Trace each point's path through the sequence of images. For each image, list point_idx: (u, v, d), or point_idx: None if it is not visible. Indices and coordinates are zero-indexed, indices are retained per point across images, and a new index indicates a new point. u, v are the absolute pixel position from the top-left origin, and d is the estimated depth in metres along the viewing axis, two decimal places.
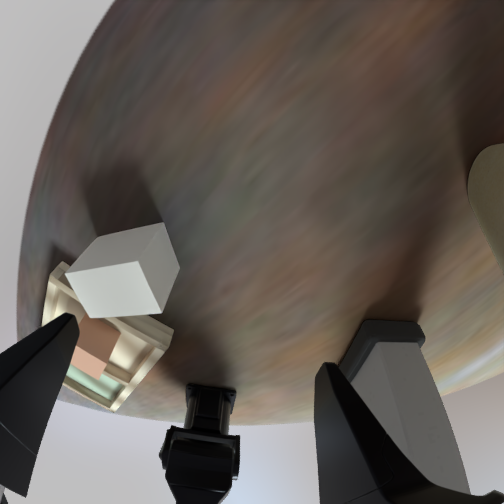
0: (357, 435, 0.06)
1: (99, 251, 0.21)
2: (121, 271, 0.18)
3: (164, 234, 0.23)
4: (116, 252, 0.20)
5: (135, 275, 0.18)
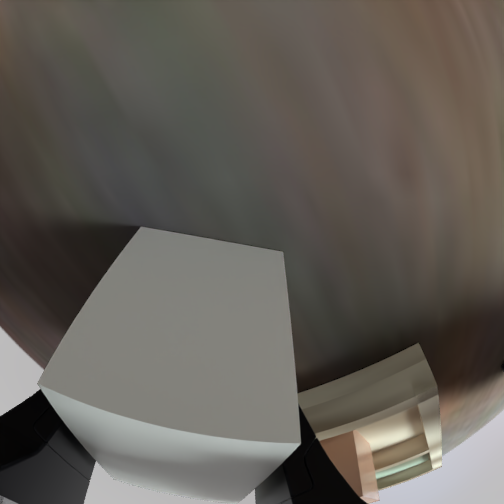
0: None
1: None
2: (87, 432, 0.04)
3: (157, 242, 0.08)
4: None
5: (93, 419, 0.04)
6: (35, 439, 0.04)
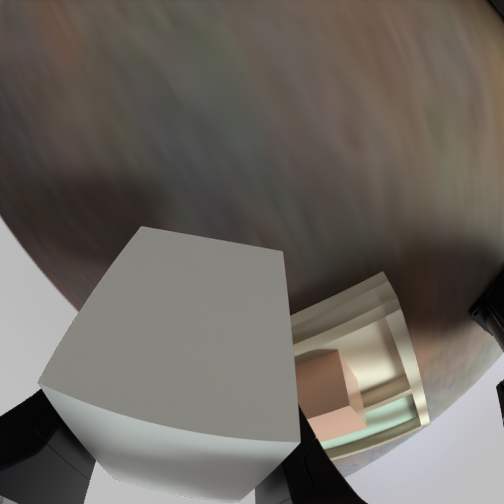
0: None
1: None
2: (87, 431, 0.04)
3: (157, 241, 0.08)
4: None
5: (94, 419, 0.04)
6: (35, 439, 0.04)
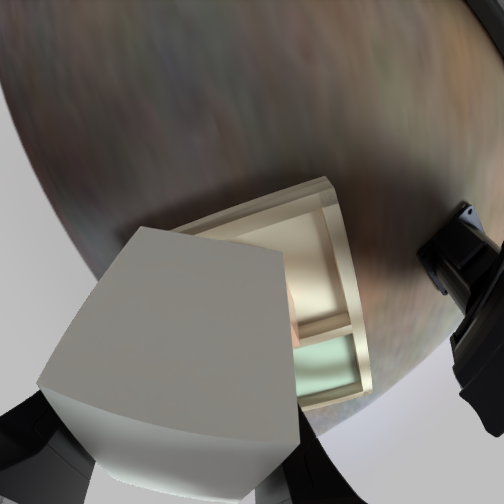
0: None
1: None
2: (86, 431, 0.04)
3: (157, 242, 0.08)
4: None
5: (93, 419, 0.04)
6: (36, 439, 0.04)
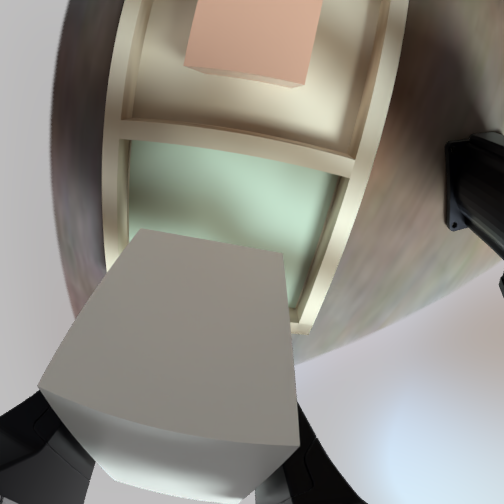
0: None
1: None
2: (87, 433, 0.04)
3: (157, 244, 0.08)
4: None
5: (94, 421, 0.04)
6: (35, 439, 0.04)
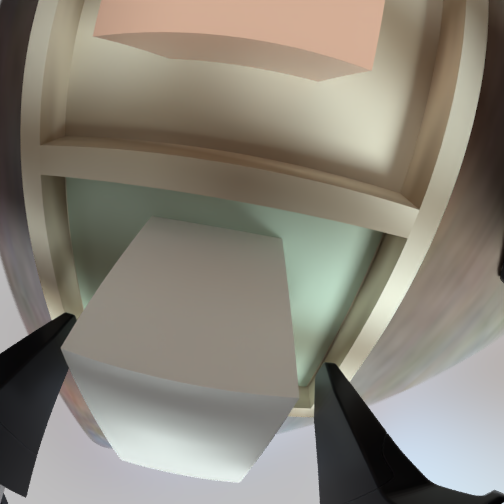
0: (357, 435, 0.06)
1: None
2: (102, 399, 0.05)
3: (168, 229, 0.09)
4: None
5: (111, 382, 0.05)
6: None
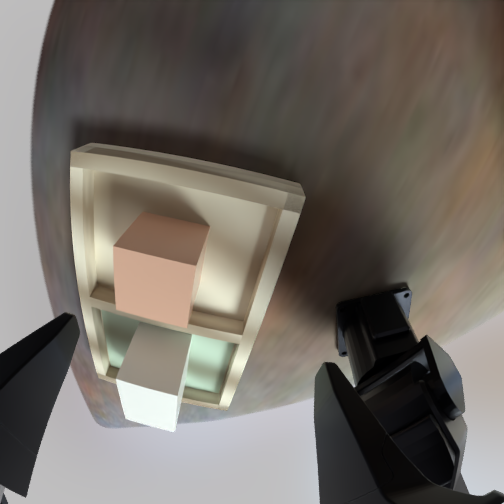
0: (357, 435, 0.06)
1: None
2: (125, 392, 0.18)
3: (146, 330, 0.22)
4: None
5: (129, 387, 0.18)
6: None
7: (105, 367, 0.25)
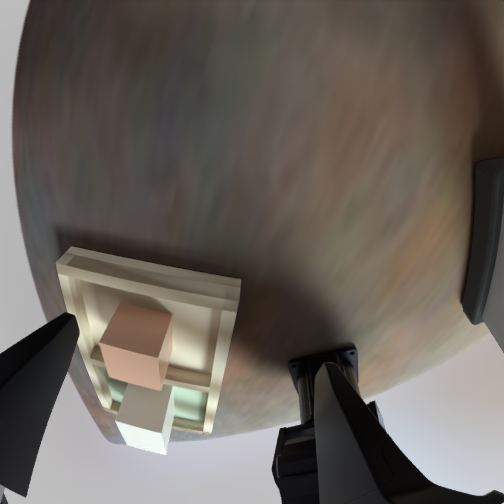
0: (357, 435, 0.06)
1: None
2: (123, 428, 0.22)
3: None
4: None
5: (126, 426, 0.22)
6: None
7: (109, 403, 0.29)
